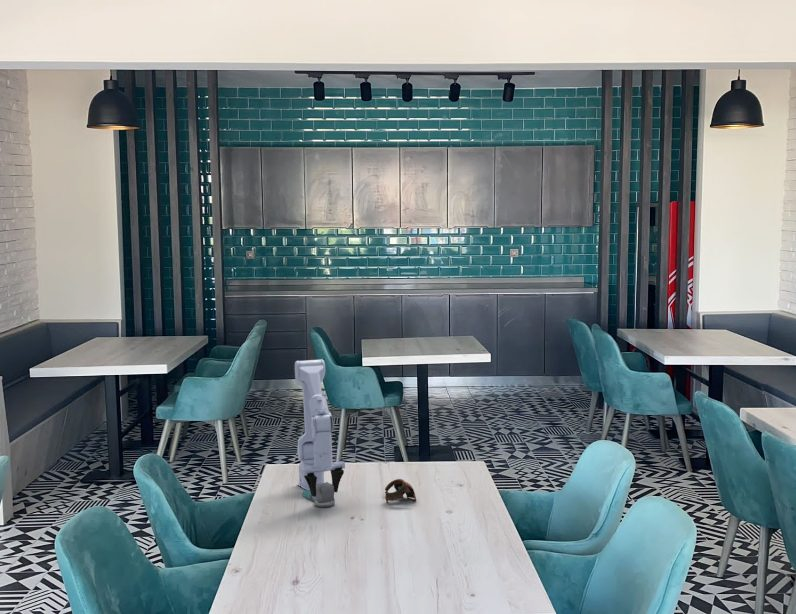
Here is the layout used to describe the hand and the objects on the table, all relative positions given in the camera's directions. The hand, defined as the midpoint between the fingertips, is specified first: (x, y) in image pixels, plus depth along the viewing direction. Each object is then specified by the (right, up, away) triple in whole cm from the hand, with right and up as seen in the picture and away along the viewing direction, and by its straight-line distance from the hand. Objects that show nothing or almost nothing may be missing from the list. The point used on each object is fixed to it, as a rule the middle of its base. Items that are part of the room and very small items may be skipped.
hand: (324, 493), depth 268 cm
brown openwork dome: (+24, -3, +2) cm, 25 cm away
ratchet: (-3, -3, +4) cm, 6 cm away
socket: (0, -2, 0) cm, 2 cm away
